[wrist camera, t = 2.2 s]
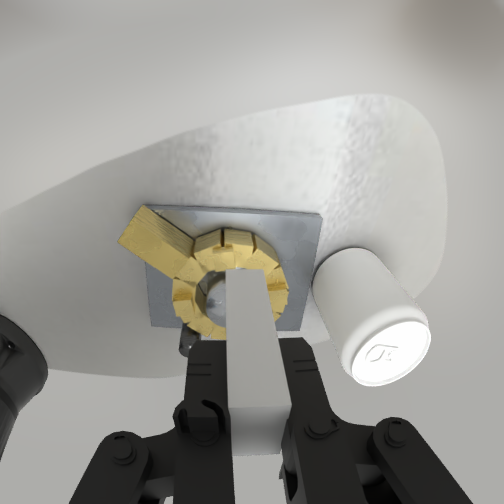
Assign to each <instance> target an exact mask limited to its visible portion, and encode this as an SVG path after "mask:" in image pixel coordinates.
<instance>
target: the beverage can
mask: <svg viewBox="0 0 504 504" xmlns="http://www.w3.org/2000/svg"><path fill="white" fill-rule="evenodd" d="M312 293H313V297H314V300H315V302H316V304H317V307H318V309H319V311H320V314H321V316H322V318H323V321H324V323H325V326H326V328H327V330H328V333H329V335H330V338H331V340H332V342H333V345H334V347H335V350H336V352H337V355H338V357H339V359H340V362H341V365H342V367H343V369H344V370H345V371H346V372H347V373H348V374H349V375H350V376H352V377H353V378H354V379H355V380H356V381H357V382H358V383H360V384H362V385H365V386H380V385H384V384H388V383H391V382H393V381H396V380H398V379H400V378H401V377H403V376H405V375H406V374H408V373H409V372H410V371H411V370H413V369H414V368H415V366H417V365H418V364H419V363H420V361H421V360H422V359H423V357H424V356H425V354H426V353H427V351H428V348H429V345H430V341H431V335H430V331H429V327H428V321H427V318H426V316H425V314H424V313H423V311H422V310H421V309H420V307H419V306H418V305H417V304H416V302H415V301H414V300H413V299H412V297H411V296H410V295H409V294H408V293H407V291H406V290H405V289H404V288H403V287H402V285H401V284H400V283H399V282H398V281H397V279H396V278H395V277H394V276H393V275H392V273H391V272H390V271H389V270H388V269H387V268H386V266H385V265H384V264H383V263H382V262H381V261H380V260H379V258H378V257H377V256H376V255H375V254H373V253H372V252H370V251H368V250H366V249H361V248H350V249H345V250H342V251H339V252H337V253H335V254H334V255H332V256H331V257H329V258H328V259H327V260H326V261H325V262H324V263H323V264H322V265H321V266H320V267H319V269H318V270H317V272H316V274H315V277H314V280H313V284H312Z"/></svg>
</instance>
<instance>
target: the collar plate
mask: <svg viewBox="0 0 504 504" xmlns="http://www.w3.org/2000/svg"><path fill="white" fill-rule="evenodd" d="M145 206H146V207H147V208H149V209H150V210H151V211H153V212H154V213H156V214H157V215H158V216H160V217H161V218H163V219H164V220H166V221H167V222H168V223H170V224H171V225H173V226H174V227H175V228H177V229H178V230H180V231H181V232H183V233H184V234H185V235H187V236H188V237H190V238H191V239H193V241H195V242H196V238H198V237H201V236H203V235H206V234H209V233H211V232H214V231H216V230H219V229H221V232H222V234H223V235H224V229H232V230H239V231H247V232H251V237H252V236H253V234H256V235H257V236H258V237H260V238H261V239H262V240H264V241H265V242H266V243H268V244H269V245H270V246H272V247H273V248H274V251H276V253H277V256H278V258H279V261H280V264H281V267H282V269H283V272H284V275H285V278H286V281H287V284H288V287H289V288H288V290H289V293H288V297H287V305H285V307H284V311H283V313H281V316H280V317H279V318H278V319H277V320H276V321H275V327H276V331H300V326H301V322H302V318H303V313H304V309H305V304H306V300H307V295H308V291H309V286H310V281H311V276H312V272H313V267H314V262H315V257H316V252H317V246H318V241H319V236H320V231H321V225H322V220H323V218H322V217H321V216H320V215H319V214H311V213H298V212H284V211H269V210H253V209H235V208H216V207H193V206H166V205H145ZM145 264H146V277H147V288H148V298H149V308H150V317H151V325H152V326H154V327H169V328H182V330H181V337H180V345H179V352H180V353H181V354H182V355H183V356H185V357H188V354H189V350H190V349H191V347H192V346H193V344H194V343H195V341H196V340H201V334H200V333H199V332H197V331H195V330H193V329H192V328H190V327H188V326H187V323H184V322H183V320H182V319H181V317H180V316H178V317H176V313H175V309H174V306H173V301H172V288H173V279H171V278H170V277H168V276H167V275H165V274H164V273H162V272H161V271H159V270H158V269H156V268H155V267H153V266H152V265H150V264H149V263H147V262H146V261H145ZM235 268H236V269H246V268H240V267H235ZM198 286H199V288H200V289H201V291H202V293H203V295H204V296H205V297H207V301H206V312H207V315H208V317H209V319H210V320H211V321H212V322H213V323H215V324H216V325H218V326H220V327H224V328H226V271H220V272H215V270H212V271H209V272H207V273H206V274H205V276H204V277H203V278H202V279H201V280H200V281H199V283H198Z"/></svg>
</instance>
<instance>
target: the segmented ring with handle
mask: <svg viewBox="0 0 504 504" xmlns="http://www.w3.org/2000/svg"><path fill="white" fill-rule="evenodd" d="M118 243H119V244H121V245H122V246H124V247H125V248H127V249H128V250H129V251H131V252H132V253H134V254H135V255H137V256H138V257H140V258H141V259H143V260H144V261H146V262H147V263H149V264H150V265H152V266H153V267H155V268H156V269H158V270H159V271H161V272H162V273H164V274H165V275H167V276H168V277H170V278H171V279H173V288H172V301H173V306H174V309H175V313H176V317H178V316H180V317H181V319H182V320H183V322H184V323H187V326H188V327H190V328H192V329H193V330H195V331H197V332H199V333H200V334H202V335H204V336H206V337H208V336H209V335H210V334H211V338H212V339H222V340H226V328H224V327H220V326H218V325H216V324H215V323H213V322H212V321H211V320H210V319H209V317H208V315H207V312H206V301H207V297H205V296H204V295H203V293H202V291H201V289H200V288H199V286H198V283H199V281H200V280H201V279H202V278H203V277H204V276H205V274H206V273H207V272H209V271H212V270H215V272H220V271H226V269H236V268H235V267H240V268H246V269H263V270H264V275H265V279H266V284H267V289H268V294H269V298H270V303H271V308H272V313H273V317H274V322H275V321H276V320H277V319H278V318H279V317H280V316H281V313H283V311H284V307H285V305H287V297H288V293H289V290H288V288H289V287H288V284H287V281H286V278H285V275H284V272H283V269H282V267H281V264H280V261H279V258H278V256H277V253H276V251H274V248H273V247H272V246H270V245H269V244H268V243H266V242H265V241H264V240H262V239H261V238H260V237H258V236H257V235H256V234H253V236H252V237H251V232H247V231H239V230H232V229H224V235H223V234H222V232H221V229H219V230H216V231H214V232H211V233H209V234H206V235H203V236H201V237H198V238H196V242H195V241H193V239H191V238H190V237H188V236H187V235H185V234H184V233H183V232H181V231H180V230H178V229H177V228H175V227H174V226H173V225H171V224H170V223H168V222H167V221H166V220H164V219H163V218H161V217H160V216H158V215H157V214H156V213H154V212H153V211H151V210H150V209H149V208H147V207H146V206H144V205H142V206H141V208H140V209H139V210H138V212H137V213H136V214H135V216H134V217H133V218H132V220H131V221H130V223H129V225H128V226H127V228H126V229H125V231H124V232H123V234H122V235H121V237H120V239H119V240H118Z"/></svg>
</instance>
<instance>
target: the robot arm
mask: <svg viewBox="0 0 504 504" xmlns="http://www.w3.org/2000/svg"><path fill="white" fill-rule="evenodd" d="M186 374H187V376H186V385H185V394H184V400H183V401H182V402H181V403H180V404H179V405H178V406H177V407H176V408H175V411H174V414H173V420H174V424H175V427H174V428H173V429H172V430H170V431H168V432H167V433H163V434H161V435H156V436H151V437H146V438H141V437H140V436H138V435H136V434H134V433H132V432H126V431H120V432H114V433H112V434H110V435H108V436H106V437H105V438H104V440H103V441H102V442H101V443H100V445H99V446H98V448H97V450H96V452H95V454H94V456H93V458H92V459H91V461H90V463H89V465H88V467H87V469H86V471H85V473H84V475H83V477H82V479H81V480H80V482H79V484H78V486H77V488H76V490H75V492H74V494H73V496H72V498H71V500H70V502H69V504H164V501H165V498H166V497H170V496H173V504H235V495H234V478H233V460H232V456H249V455H268V454H280V451H281V449H282V455H283V464H282V466H281V470H280V474H279V479H283V482H284V489H285V495H286V502H287V504H473V503H472V502H471V500H470V499H469V498H468V496H467V495H466V494H465V492H464V491H463V490H462V488H461V487H460V486H459V484H458V483H457V482H456V480H455V479H454V478H453V477H452V475H451V474H450V473H449V471H448V470H447V469H446V467H445V466H444V465H443V464H442V462H441V461H440V459H439V458H438V457H437V456H436V454H435V453H434V452H433V450H432V449H431V448H430V446H429V445H428V444H427V443H426V441H425V440H424V439H423V438H422V436H421V435H420V434H419V433H418V431H417V430H416V429H415V427H414V426H413V425H412V424H410V422H408V421H407V420H404V419H402V418H397V417H390V418H386V419H383V420H382V421H380V422H379V423H378V424H377V425H376V426H366V425H357V424H352V423H348V422H345V421H344V420H341V419H340V418H339V417H338V416H337V415H335V413H334V412H333V411H332V409H331V407H330V405H329V401H328V398H327V395H326V392H325V388H324V385H323V382H322V379H321V375H320V372H319V371H318V366H317V363H316V361H315V357H314V353H313V350H312V348H311V346H310V345H309V344H308V343H307V342H306V341H305V340H304V339H303V337H299V338H278V336H277V332H276V327H275V322H274V317H273V313H272V308H271V303H270V298H269V294H268V289H267V284H266V279H265V275H264V270H263V269H226V340H196V341H195V343H194V344H193V346H192V347H191V349H190V350H189V354H188V366H187V373H186ZM47 376H48V369H47V365H46V362H45V360H44V358H43V356H42V354H41V352H40V351H39V349H38V348H37V347H36V345H35V344H34V343H33V342H32V340H31V339H30V338H29V337H28V336H27V335H26V334H25V333H24V332H23V331H22V330H21V329H20V328H18V327H17V326H16V325H15V324H13V323H12V322H11V321H9V320H8V319H6V318H4V317H3V316H1V315H0V460H1V457H2V454H3V452H4V449H5V446H6V444H7V441H8V438H9V435H10V433H11V431H12V428H13V425H14V423H15V420H16V418H17V416H18V413H19V412H20V410H21V409H22V408H23V407H24V406H25V405H26V404H27V403H28V402H29V401H30V400H31V399H32V398H33V397H34V396H35V395H37V394H38V393H39V392H40V391H41V390H42V388H43V386H44V384H45V382H46V380H47Z"/></svg>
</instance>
